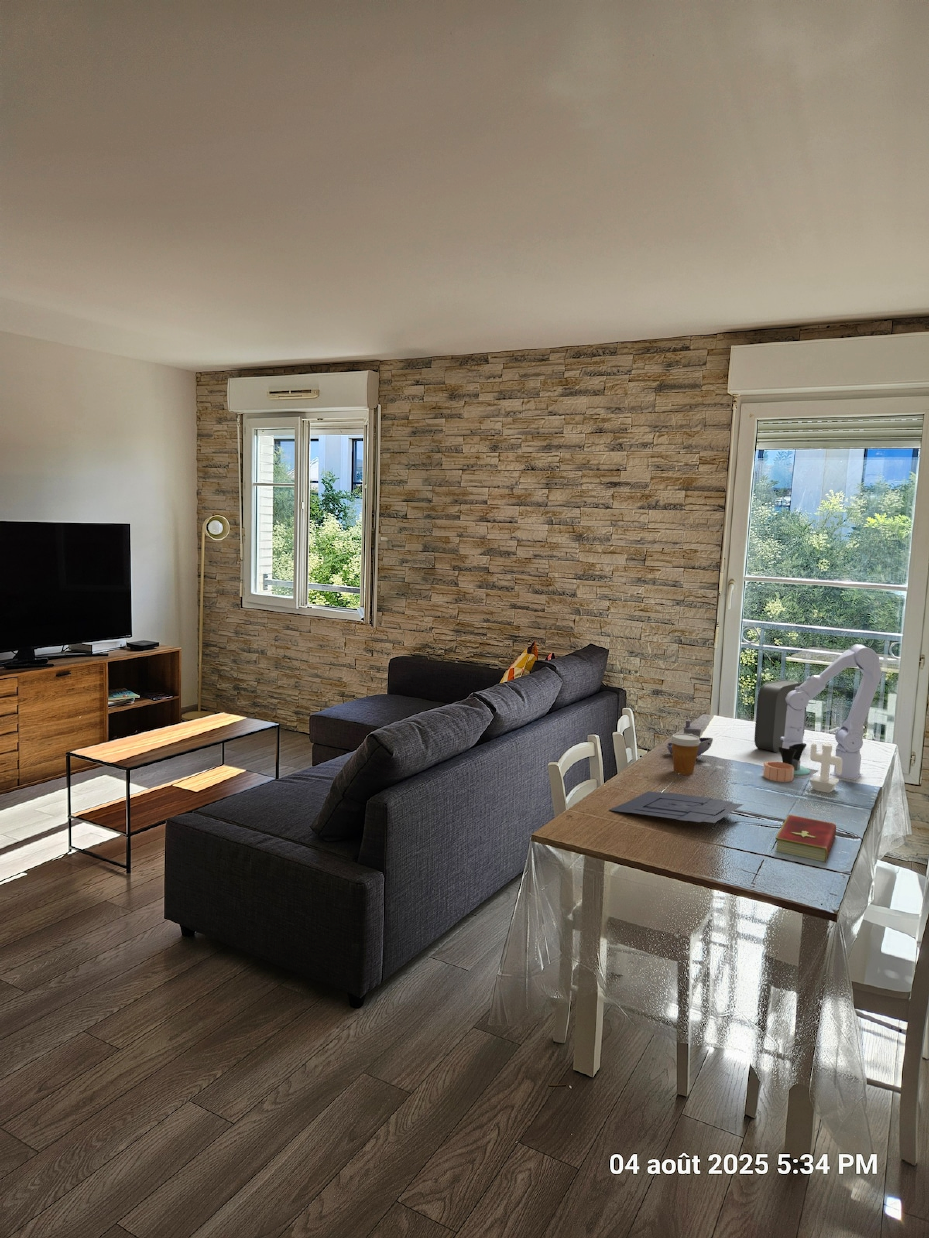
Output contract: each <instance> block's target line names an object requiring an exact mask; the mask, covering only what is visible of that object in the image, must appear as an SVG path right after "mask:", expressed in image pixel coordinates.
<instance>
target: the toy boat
mask: <svg viewBox="0 0 929 1238" xmlns="http://www.w3.org/2000/svg"><path fill="white" fill-rule="evenodd" d="M691 722H692V720H691V719H685V725H684V726H683V734H691V735H695V736H698V737H699V739H700V742H701V743H700V745H699V747H698V752H697V757H699V756H701V755H703V754H704V753H706V752H708V750H709V749H710V748H711V746H712V744H713V739H714V738H712V737H700V736H701V731H702V727H703V726H702V725H691ZM666 748H667V750H668V752H669V754H672V755H673V751H672V742H671V741H669V742H667V745H666Z"/></svg>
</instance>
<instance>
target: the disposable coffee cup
mask: <svg viewBox="0 0 929 1238" xmlns="http://www.w3.org/2000/svg"><path fill="white" fill-rule="evenodd" d="M670 742H671V743H672V751H673V754H672V765H673V767H672V768H673V773H675V774H678V775H684V776H686V775H688V776H689V775H693V774H694V770H695V767H696V762H697V761H696V760H697V757H698V756H697V752H698V747H699V745H700V743H701V742H700V739H699V737H698V736H695V735H693V734H684V733H683V732H682V733H674V734H672V736H671V738H670Z"/></svg>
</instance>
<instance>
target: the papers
mask: <svg viewBox="0 0 929 1238" xmlns="http://www.w3.org/2000/svg"><path fill="white" fill-rule="evenodd" d="M742 806H744V804H742V803H737V802H736V803H735V802H734V801H730V800H729V801H728V800H723V799H718V798H712V797H706V796H698V795H696V796H695V795H690V794H689V795H688V794H682V793H674V792H672V793H671V792H660V791H659V792H658V791H645V792H643V793H642V794H640V795H638V796H636V797H634V798H633V799H631V800H629V801H626V802H624V803H621V804H619V805H617V806H615V807H612V808H610V809H609V811H614V812H620V813H629V814H631V813H632V814H639V815H646V816H651V817H661V818H668V819H673V820H676V821H677V820H679V821H686V822H688V821H689V822H696V823H701V822H706V823H713V824H716V823H717V822H718V821H720V820H721V819H723V818H725V817H726V816H727V815H728V814H731V813H732V812H733V811H736V810H737V809H739V808H740V807H742Z"/></svg>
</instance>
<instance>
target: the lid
mask: <svg viewBox="0 0 929 1238" xmlns="http://www.w3.org/2000/svg"><path fill="white" fill-rule="evenodd" d="M792 765H793V766H794V775H808V774H810V770H809V769H810V768H809V767H806V766H802V765H801V759H800V760H795V759H793V761H792ZM808 768H809V769H808Z"/></svg>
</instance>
